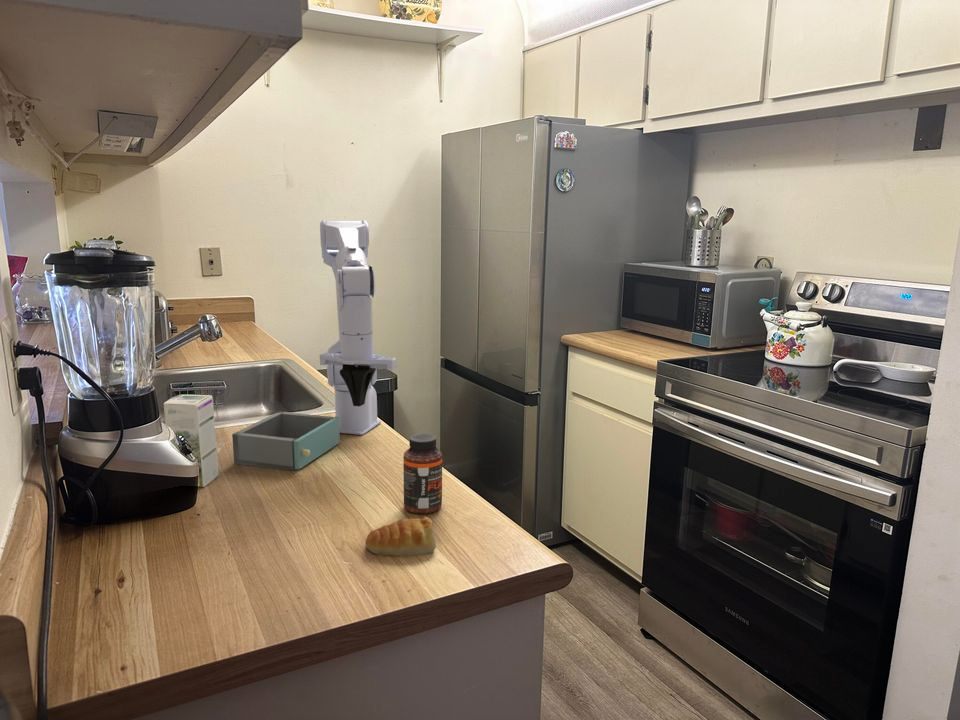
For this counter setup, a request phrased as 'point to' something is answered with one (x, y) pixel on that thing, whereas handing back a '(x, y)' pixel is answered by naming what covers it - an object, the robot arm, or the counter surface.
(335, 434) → the door
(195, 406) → the syrup box
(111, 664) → the counter surface
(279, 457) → the grey open box
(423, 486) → the supplement bottle
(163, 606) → the counter surface
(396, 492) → the counter surface
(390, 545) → the pastry
